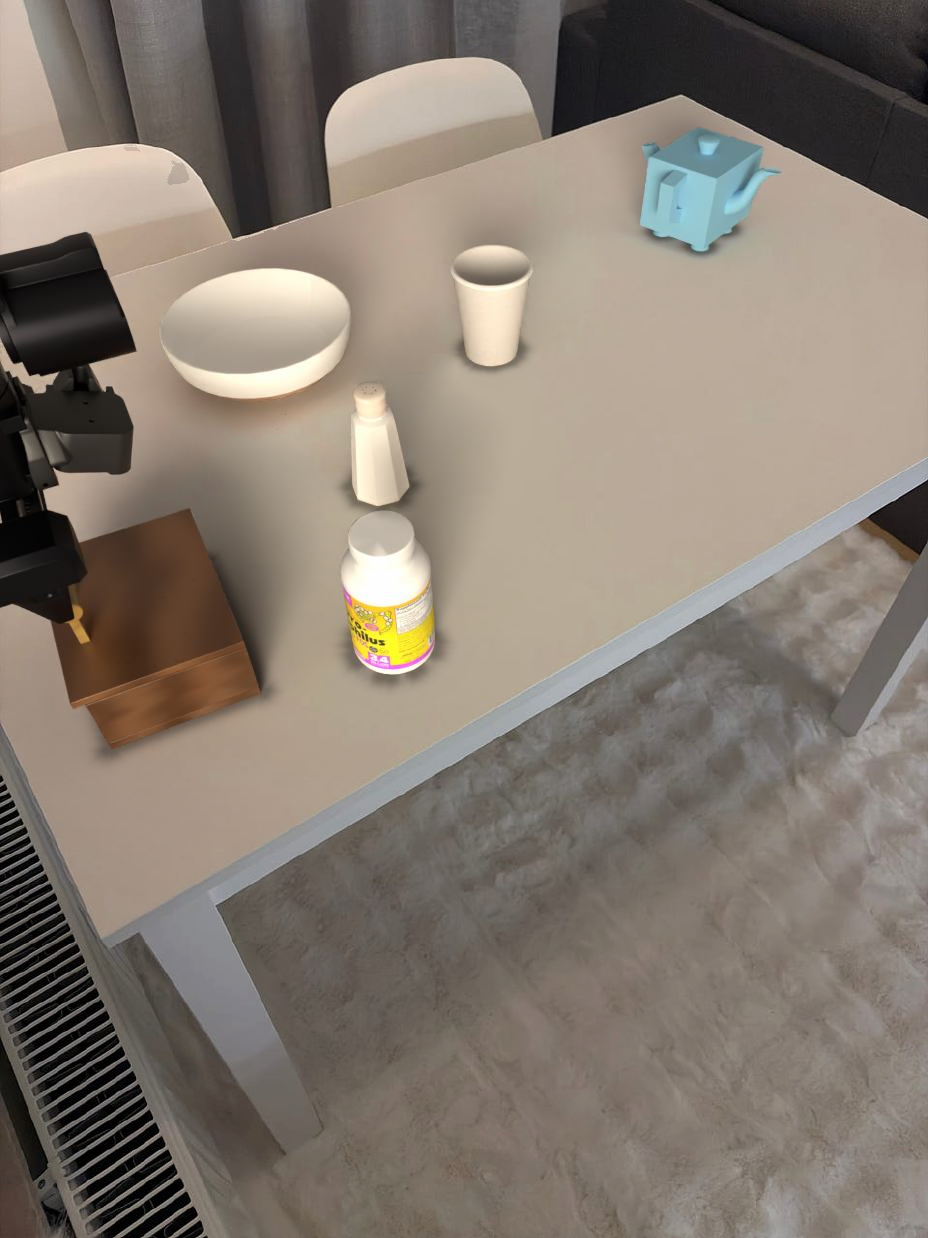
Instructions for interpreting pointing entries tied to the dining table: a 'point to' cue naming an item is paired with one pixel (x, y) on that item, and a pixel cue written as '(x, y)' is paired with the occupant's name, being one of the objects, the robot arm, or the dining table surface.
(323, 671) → the dining table surface
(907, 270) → the dining table surface
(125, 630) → the lid
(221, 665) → the chest
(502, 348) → the dixie cup
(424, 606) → the supplement bottle
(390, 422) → the salt shaker
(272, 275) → the bowl
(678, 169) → the teapot
